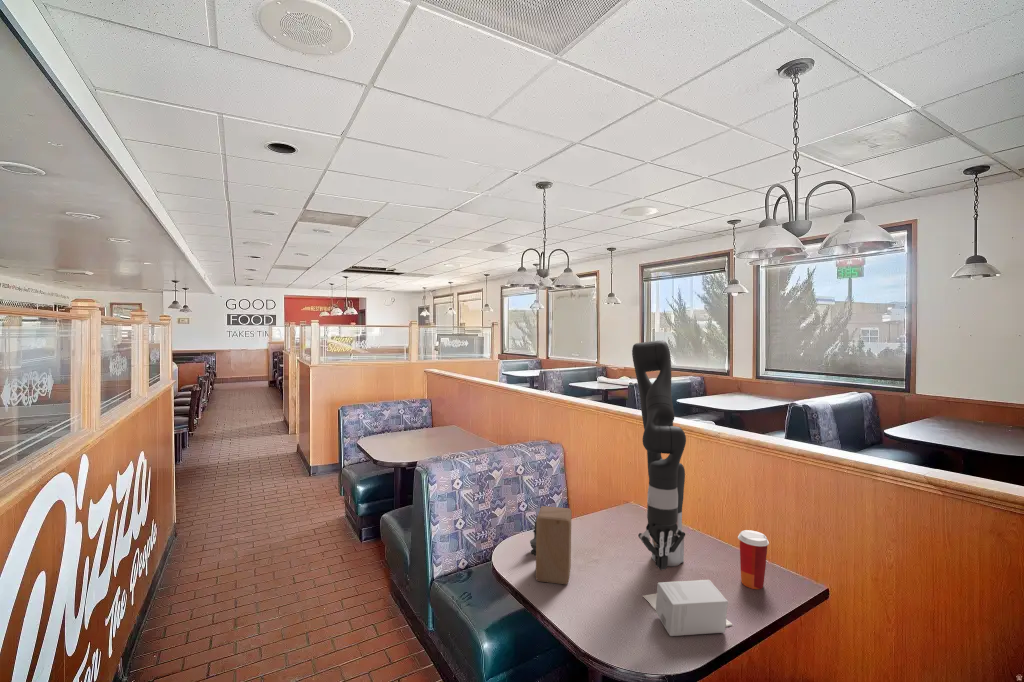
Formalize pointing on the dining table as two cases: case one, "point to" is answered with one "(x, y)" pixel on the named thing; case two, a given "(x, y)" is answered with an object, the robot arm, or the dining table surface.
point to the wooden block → (553, 545)
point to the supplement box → (691, 607)
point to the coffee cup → (753, 558)
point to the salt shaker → (534, 542)
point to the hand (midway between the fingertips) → (661, 568)
